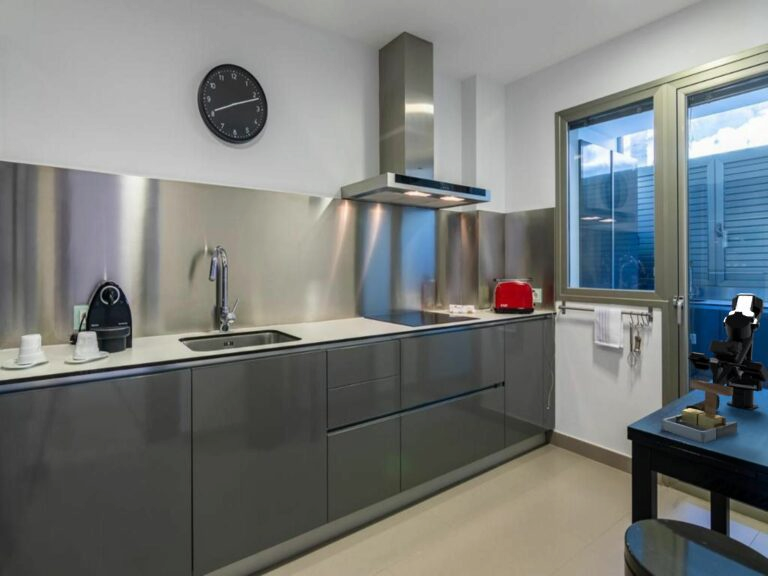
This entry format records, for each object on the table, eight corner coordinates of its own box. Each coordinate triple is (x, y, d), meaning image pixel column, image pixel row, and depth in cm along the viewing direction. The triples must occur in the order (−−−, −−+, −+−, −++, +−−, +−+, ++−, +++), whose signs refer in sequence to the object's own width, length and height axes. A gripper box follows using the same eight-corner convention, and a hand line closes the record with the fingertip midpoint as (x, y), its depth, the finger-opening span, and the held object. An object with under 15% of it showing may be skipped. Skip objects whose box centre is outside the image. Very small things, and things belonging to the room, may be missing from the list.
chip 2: (705, 422, 122) (706, 412, 122) (721, 427, 118) (722, 416, 118) (698, 424, 120) (698, 414, 120) (713, 429, 117) (714, 419, 117)
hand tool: (699, 420, 127) (699, 405, 127) (685, 416, 131) (685, 401, 131) (728, 409, 137) (728, 395, 137) (714, 406, 140) (714, 392, 140)
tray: (673, 426, 125) (674, 416, 125) (716, 439, 115) (716, 428, 115) (661, 429, 122) (661, 419, 122) (703, 443, 112) (703, 432, 112)
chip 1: (689, 417, 126) (689, 408, 126) (704, 422, 122) (704, 412, 122) (681, 420, 124) (681, 410, 124) (696, 424, 121) (696, 414, 121)
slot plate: (694, 420, 130) (694, 410, 129) (737, 432, 119) (737, 422, 119) (674, 425, 125) (674, 415, 125) (717, 439, 115) (717, 428, 115)
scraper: (693, 414, 128) (694, 379, 128) (732, 425, 119) (732, 387, 119) (687, 416, 127) (688, 380, 126) (725, 427, 118) (726, 388, 117)
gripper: (691, 327, 134) (670, 364, 130) (764, 334, 117) (742, 378, 113) (705, 349, 138) (684, 386, 133) (777, 359, 121) (757, 402, 116)
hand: (714, 387), depth 124 cm, fingers closed
